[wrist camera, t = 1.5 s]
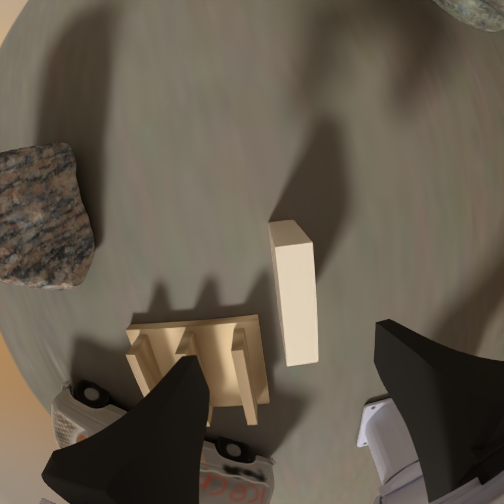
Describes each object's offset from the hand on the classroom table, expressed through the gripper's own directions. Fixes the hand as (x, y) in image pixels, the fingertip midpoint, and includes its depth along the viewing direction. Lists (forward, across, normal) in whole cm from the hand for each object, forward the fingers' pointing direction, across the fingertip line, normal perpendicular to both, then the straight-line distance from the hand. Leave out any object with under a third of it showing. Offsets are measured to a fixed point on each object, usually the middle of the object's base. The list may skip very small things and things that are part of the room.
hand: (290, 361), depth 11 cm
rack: (+11, +7, +8) cm, 15 cm away
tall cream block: (+11, -1, 0) cm, 11 cm away
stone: (+12, +18, -8) cm, 22 cm away
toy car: (+11, +16, +19) cm, 27 cm away
